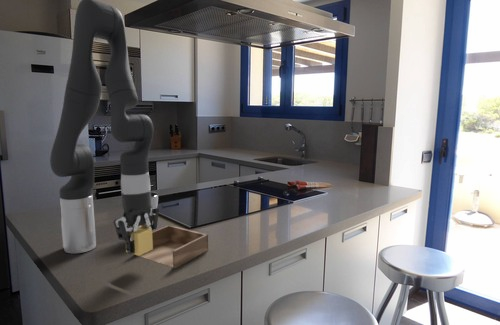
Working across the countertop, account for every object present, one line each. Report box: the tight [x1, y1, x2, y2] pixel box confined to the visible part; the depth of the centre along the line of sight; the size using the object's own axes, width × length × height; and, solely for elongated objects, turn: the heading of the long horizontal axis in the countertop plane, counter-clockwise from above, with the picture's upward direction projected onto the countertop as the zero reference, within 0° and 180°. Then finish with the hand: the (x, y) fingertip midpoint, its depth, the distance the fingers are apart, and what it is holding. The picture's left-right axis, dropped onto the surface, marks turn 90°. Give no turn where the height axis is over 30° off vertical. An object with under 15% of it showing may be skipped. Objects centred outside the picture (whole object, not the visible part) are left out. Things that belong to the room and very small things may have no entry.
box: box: [136, 224, 209, 269], centre depth 108 cm, size 17×15×6 cm
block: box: [125, 226, 153, 257], centre depth 97 cm, size 5×5×6 cm
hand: (139, 249), depth 97 cm, fingers closed on block, 5 cm apart
